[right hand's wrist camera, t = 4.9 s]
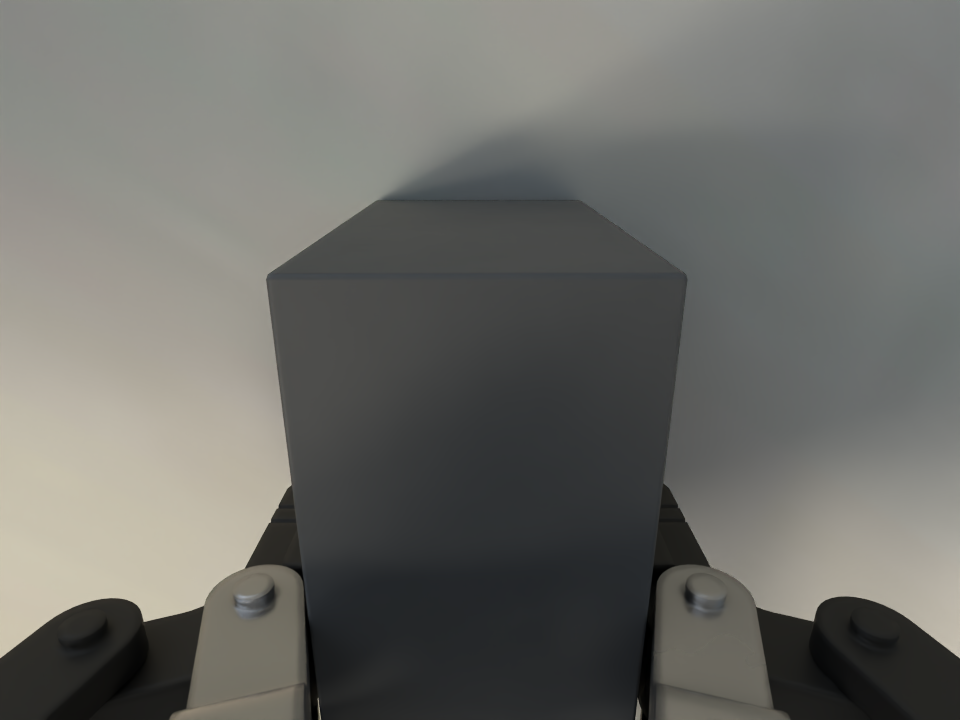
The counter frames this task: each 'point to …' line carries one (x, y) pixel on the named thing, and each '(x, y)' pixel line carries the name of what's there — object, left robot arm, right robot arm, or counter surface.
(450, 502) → the beam
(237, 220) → the counter surface
